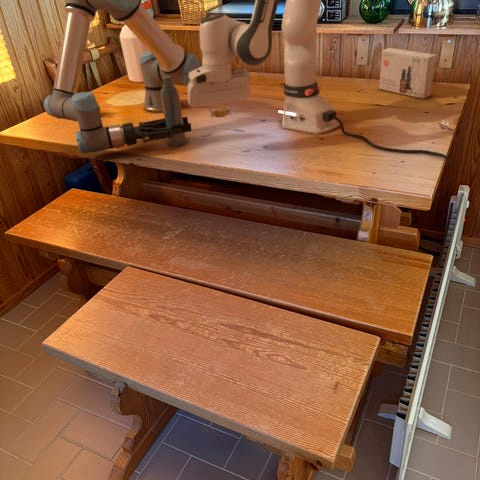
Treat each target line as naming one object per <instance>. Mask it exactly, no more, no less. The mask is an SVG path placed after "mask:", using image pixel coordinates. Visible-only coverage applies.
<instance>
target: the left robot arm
mask: <svg viewBox="0 0 480 480" xmlns="http://www.w3.org/2000/svg"><path fill="white" fill-rule="evenodd" d="M64 11H65V13H66V19H65V22H64V28H63V29H64V30H63V34H62V39H61V45H60V50H59V56H58V62H57V66H56V73H55V78H54V82H53V90H52V94H49V95H47V96H46V97H45V99H44V100H43V108H44V111H45V113H46V114H48V116H50V117H53V118H56V119H59V120H62V119H63V120H69V121H72V122H77V124H78V127H79V130H78V131H76V132H75V141H76V144H77V147H78V150H79V151H80V153H82V154H88V153H97V152H101V151H106V150H107V151H108V150H112V149H118V150H119V149H120V148H122V147H125V146H127V147H129V146H136V145H137V144H138V141H137V140H142V141H143V143H147V142H152V141H157V140H165V139H168V138H171V137H172V138H173V137H174V136H173V134H179V133H184V132H185V133H188V132H192V131H193V130H192V123H191V122H189V118H188V116H184V117H183V116H182V118H183V124H182V125H176V126H172V128H166V123H165V117H163V118H159V119H153V120H147V121H140V122H138V125H137V126H134V124H133V122H126V123H122V124H113V125H108V126H104V124H103V121H102V117H101V112H100V113H99V108H98V105H99V103H98V101H97V99H96V95H95V94H94V93H93V92H91V91H80V92H78V89H79V83H80V78H81V74H82V69H83V63H84V59H85V58H84V57H85V53H86V47H87V42H88V38H89V32H90V28H91V23H92V22H93V21H95V19H96V14H97V12H98V11H106V12H107V13H108V14H109V15H110V16H111V17H112V18H113V19H114V20H115V21H116V22H118V23H124V25H125V24H126V25H127V27H128V28H129V29H130V30H131V31H132V32H133V33H134V34H135V35H136V36H137V38H138V39H139V40H140V41H141V42H142V43H143V44H144V45H145V46H146V47H147V49H148V50H149V51H147V52H144V53H142V54H141V55H140V66H141V71H142V75H143V80H144V82H143V85H144V89H145V93H144V103H143V107H144V111H146V112H149V113H164V111H163V106H162V100H161V95H160V93H161V92H160V91H161V89H162V86H163V84H164V83H163V79H162V78H163V77H164V76H171V80H172V83H173V85H175V86H182V87H187V86H188V83H189V82H190V79H189V73H190V72H191V71H194V70H196V69H198V68H200V67H201V62H200V59H199V58H198V56H197V55H194V54H188V53H187V51H186V50H185V49H184V48H183V47H182V46H181V45H179V44H175V43H174V42H173V41H172V39H171V38H170V37H169V36H168V34H166V32H165V30H164V29H162V27H161V26H160V25H159V24H158V22H157V21H156V20H155V19H154V18H153V16H152V14H150V13H149V11H148V10H147V9H146V8H145V6H144V5H143V4H142V0H65V5H64ZM96 101H97V102H96ZM97 103H98V104H97Z"/></svg>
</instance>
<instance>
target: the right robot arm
mask: <svg viewBox="0 0 480 480" xmlns="http://www.w3.org/2000/svg"><path fill="white" fill-rule="evenodd" d="M279 1H280V0H255V1H254V6H253V10H252V14H251V20H250V23H246V22H243V21H238V20H236V19H232V18H231V17H229V16H227V15H226V14H225V13H223V12H216V13H215V12H214V13H211V14H207V15H206V16H204V17H203V18H202V19H201V20H200V23H199V47H200V51H201V54H202V60H201V65H200V68H198V69H196V70H194V71H191V72H190V73H189V79H190V82H189V83H188V86H186V88H187V89H186V95H187V96H186V98H187V103H188V105H189V107H191V108H198V107H204V106H205V107H206V108H207V110H208V111H209V115H210V118H211V119H213V118H217V117H216V112H215V110H212V105H217V104H224V103H228V104H229V105H228V108H226V109H227V116H231V115H233V114H232V113H233V111H232V110H233V108H234V106H235V101H242V100H243V101H244V100H248V99H250V97H251V96H252V92H251V86H250V85H251V84H250V81H251V74H250V71H249V70H248V69H245V68H239V69H232V58H234V57H236V58H238V59H240V60H241V61H242V62H243V63H244V64H246V65H248V66H251V67H252V66H253V67H254V66H259V65H261V64H262V63H264V62H265V61H266V60H267V59H268V57H270V54H271V52H272V47H273V34H272V33H273V26H274V22H275V17H276V13H277V9H278V6H279ZM321 4H322V0H286V1H285V4H284V5H285V6H284V10H283V16H282V22H281V33H282V37H283V38H284V56H283V67H284V68H283V70H284V82H283V89H282V90H283V94H284V103H283V110H278V113H279V114H282V116H281V120H280V121H281V128H282V129H288V130H292V131H298V132H303V133H309V134H313V135H314V134H315V135H319V134H324V133H328V132H331V131H332V130H335V129H337V128H338V127H339V126H340V130H341V132H342V133H343V134H344V135H345V136H349V137H353V138H358V139H361V140H363V141H364V142H366V144H368V145H369V146H371V147H373V148H375V149H378V150H381V151H382V150H383V151H386V152H393V153H402V154H403V153H404V154H405V153H406V154H416V153H417V154H427V155H432V156H436V157H441V158H443V159H444V160H445V161H446V162H447V163H448V165H449V166H450V167H454V163H453V162H452V160H451V159H450V157H448V156H447V155H446V154H444V153H441V152H438V151H437V152H436V151H431V150H425V149H401V148H400V149H399V148H392V147H386V146H380V145H377V144H375V143H372V142H371V141H370V140H369V139H368V138H367V137H365V136H363V135H362V134H361V135H360V134H353V133H349V132H348V131H346V130H345V128H344V123H343V122H342V120H341V119H340V118H338V117H337V110H334V109H335V108H334V106H333V105H332V104H331V103H330V102H329V101H328V100H327V99H326V98H325V97H324V96H323V95H322V94H321V93H320V90H321V89H322V86H323V85H322V84H320V85H319V84H318V81H317V31H318V30H317V29H318V21H319V20H318V19H319V14H320V10H321ZM449 203H450V204H449V209H448V215H447V220H446V226H445V229H444V234H443V239H442V242H441V246H440V251H439V257H438V261H437V268H438V269H440V268H441V265H442V260H443V255H444V250H445V247H446V242H447V239H448V234H449V229H450V225H451V220H452V215H453V209H454V203H455V202H454V201H453V202H449Z"/></svg>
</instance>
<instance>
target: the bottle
mask: <svg viewBox="0 0 480 480" xmlns="http://www.w3.org/2000/svg"><path fill="white" fill-rule="evenodd" d="M162 79H163V83H164V84H163V86H162V89H161V91H160V92H161V93H160V95H161V100H162V106H163V111H164V112H163V116H164V117H163V118H165V123H166V128H172V126H176V125H182V124H183V113H182V105H181V100H180V93H179V90H178V88H177V87H176V85H174V84H173V83H172V80H171V76H164V77H163V78H162ZM173 136H174V137H173V138H172V137H171V138H167V139H168V144H169V145H170V146H172V147H179V146H182V145H184V144H186V143H187V138H186V132H184V133H179V134H173Z"/></svg>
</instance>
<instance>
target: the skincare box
mask: <svg viewBox="0 0 480 480" xmlns="http://www.w3.org/2000/svg"><path fill="white" fill-rule="evenodd" d="M436 57H437V54H435V53H427V52H423V51H422V52H420V51H413V50H407V49H400V48H395V47H394V48H393V47H387V48H385V49H382V50H381V61H380V74H379V86H378V87H379V88H378V89H379V90H383V91H387V92H391V93H395V94H399V95H405V96H409V97H414V98H418V99H422V100H424V99H426V98H428V97H430V96H431V91H432V86H433V85H432V84H433V78H434V73H435V72H434V71H435V70H434V69H435V64H436Z"/></svg>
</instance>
